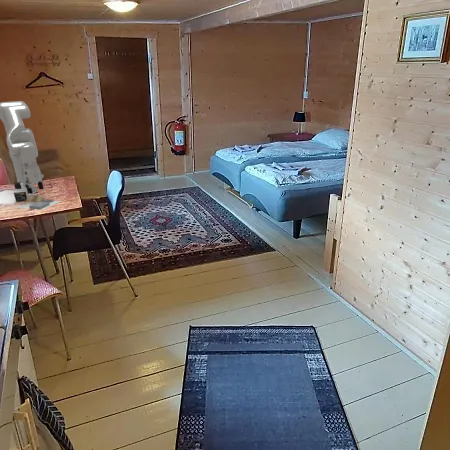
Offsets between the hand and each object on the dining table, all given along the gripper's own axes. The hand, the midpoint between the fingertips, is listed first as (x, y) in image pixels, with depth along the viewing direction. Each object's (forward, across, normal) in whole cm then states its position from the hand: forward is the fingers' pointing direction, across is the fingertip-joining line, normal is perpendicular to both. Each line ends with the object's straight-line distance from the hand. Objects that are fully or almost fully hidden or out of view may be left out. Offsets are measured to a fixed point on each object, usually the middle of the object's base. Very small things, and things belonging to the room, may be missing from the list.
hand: (35, 191), depth 256 cm
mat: (+7, -6, -6) cm, 11 cm away
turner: (+6, -1, -3) cm, 7 cm away
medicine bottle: (+8, 0, +12) cm, 14 cm away
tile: (+5, -10, -6) cm, 12 cm away
